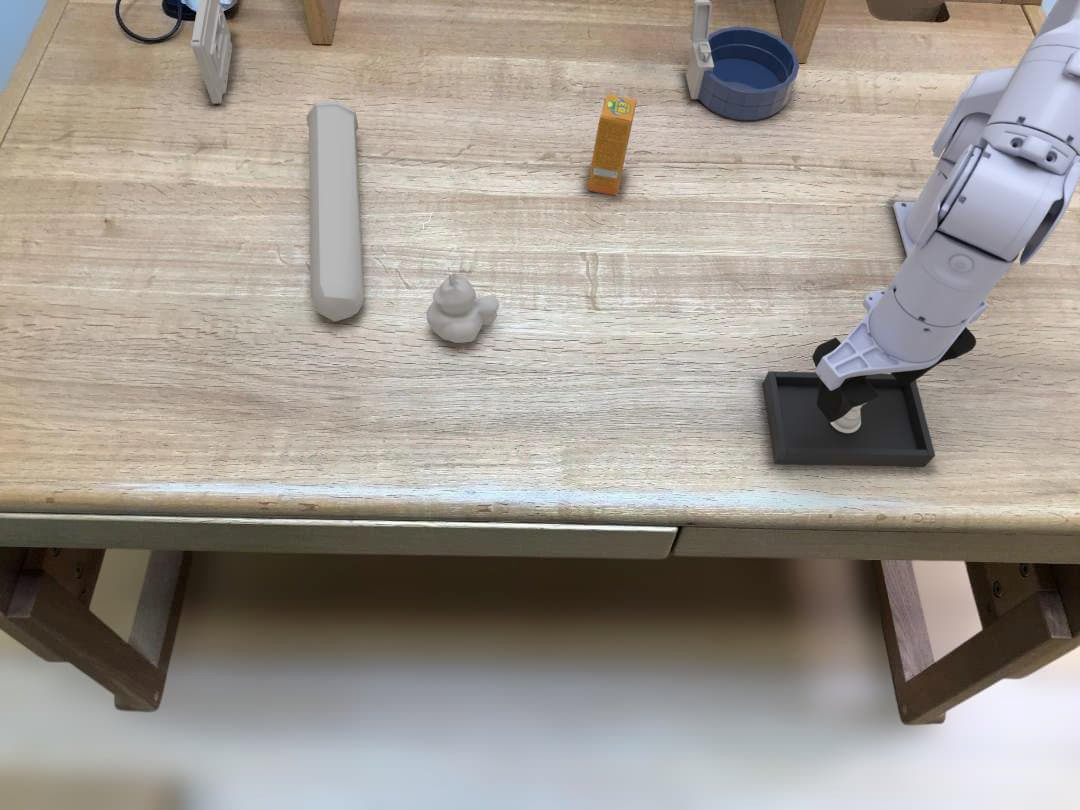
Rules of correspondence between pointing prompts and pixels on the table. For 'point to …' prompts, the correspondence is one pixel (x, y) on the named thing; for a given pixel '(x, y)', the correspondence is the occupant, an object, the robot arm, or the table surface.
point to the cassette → (212, 47)
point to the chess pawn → (849, 421)
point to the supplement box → (611, 144)
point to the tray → (809, 437)
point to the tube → (334, 211)
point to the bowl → (748, 73)
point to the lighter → (699, 47)
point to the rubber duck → (460, 310)
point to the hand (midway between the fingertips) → (862, 393)
